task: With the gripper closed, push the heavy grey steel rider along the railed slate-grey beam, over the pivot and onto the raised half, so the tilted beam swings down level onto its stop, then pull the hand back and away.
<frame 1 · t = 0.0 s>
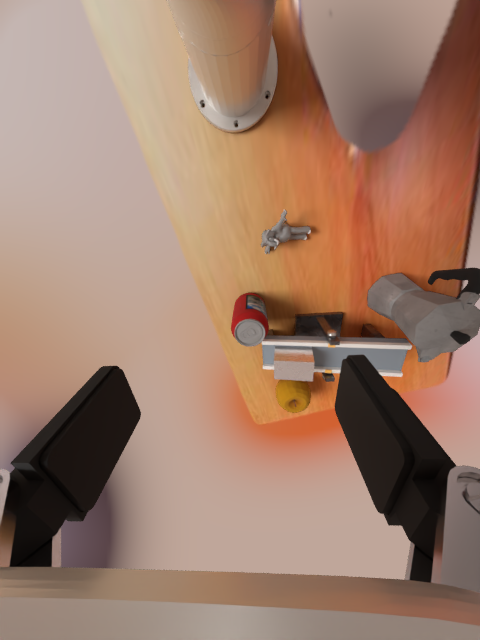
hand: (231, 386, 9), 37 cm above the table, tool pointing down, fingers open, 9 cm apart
beam: (328, 355, 42), point 9 cm above the table, hinge at 8.5°, touching rider
coffeepot: (390, 288, 45), on the table
apple: (289, 378, 57), on the table
rider: (292, 354, 43), point 8 cm above the table, tilted 9°, touching beam
beverage can: (249, 305, 48), on the table
elephant figurine: (281, 229, 40), on the table
stand: (316, 332, 50), on the table
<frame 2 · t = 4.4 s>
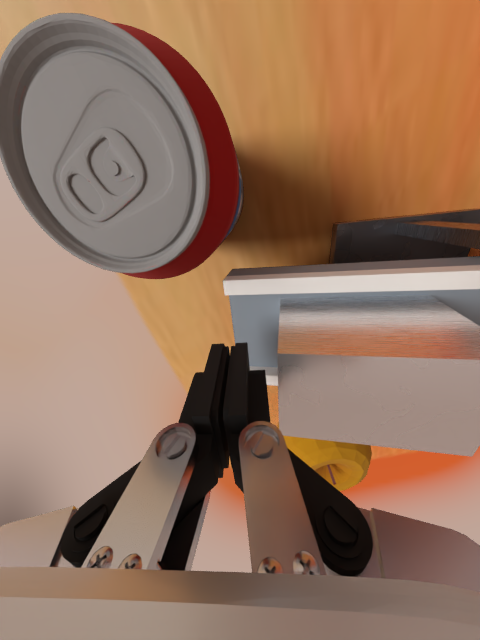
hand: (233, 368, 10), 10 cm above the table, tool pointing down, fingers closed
apple: (307, 397, 26), on the table
rider: (344, 333, 12), point 8 cm above the table, tilted 8°, touching beam
beverage can: (200, 196, 16), on the table
stand: (386, 280, 18), on the table
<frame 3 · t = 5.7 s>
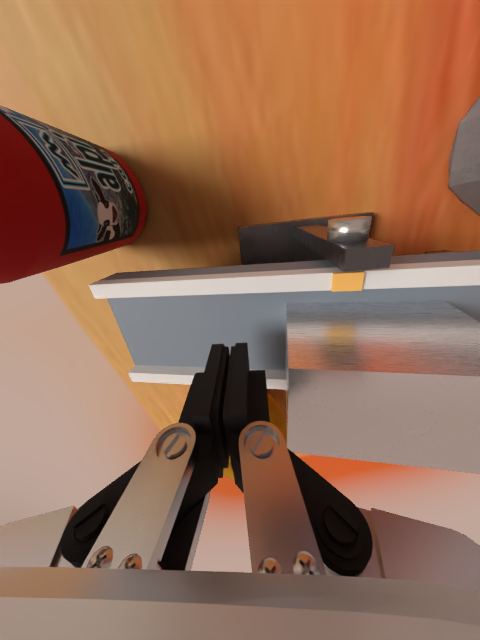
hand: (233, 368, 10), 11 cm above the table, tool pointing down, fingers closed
beam: (334, 330, 12), point 9 cm above the table, hinge at 7.7°, touching rider
apple: (246, 393, 26), on the table
rider: (352, 340, 11), point 9 cm above the table, tilted 8°, touching beam, gripper
beverage can: (109, 201, 17), on the table
stand: (299, 280, 19), on the table
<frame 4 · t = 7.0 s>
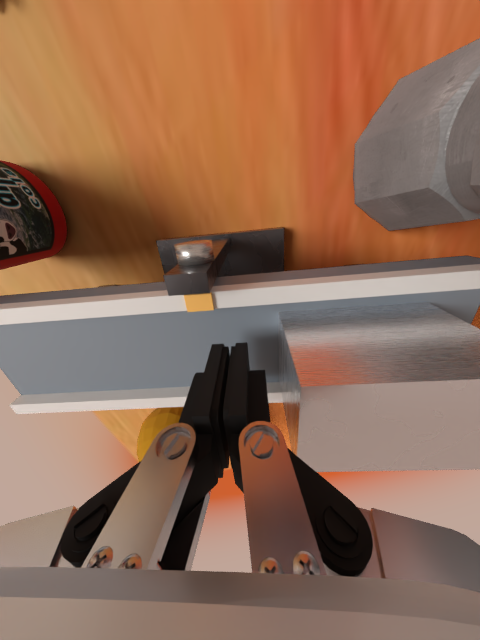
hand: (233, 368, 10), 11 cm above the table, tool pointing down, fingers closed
beam: (213, 345, 12), point 9 cm above the table, hinge at -0.5°, touching rider
coffeepot: (424, 139, 14), on the table
apple: (193, 400, 27), on the table
rider: (345, 344, 11), point 9 cm above the table, touching beam, gripper
beverage can: (33, 213, 17), on the table
stand: (227, 291, 20), on the table
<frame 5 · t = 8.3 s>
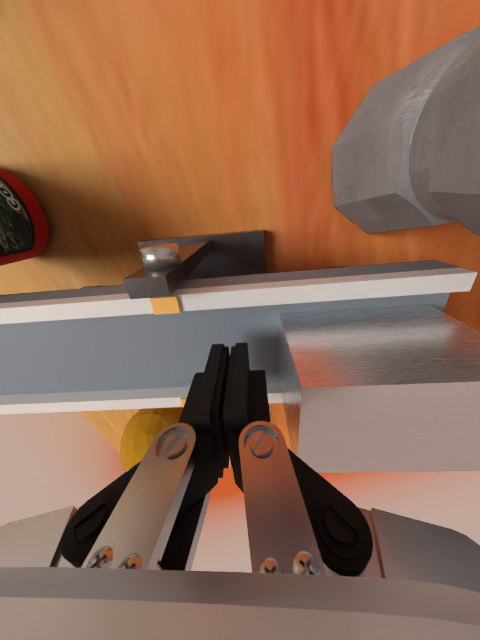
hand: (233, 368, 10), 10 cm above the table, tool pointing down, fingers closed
beam: (186, 347, 12), point 9 cm above the table, hinge at -0.6°, touching rider
coffeepot: (401, 143, 14), on the table
apple: (181, 400, 27), on the table
rider: (345, 346, 11), point 9 cm above the table, touching beam
beverage can: (15, 214, 17), on the table
stand: (210, 292, 20), on the table
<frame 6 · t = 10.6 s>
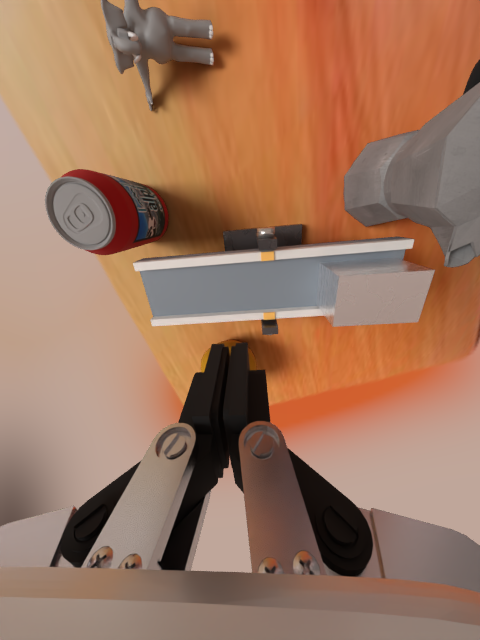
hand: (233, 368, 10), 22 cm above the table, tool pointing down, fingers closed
beam: (267, 284, 22), point 9 cm above the table, hinge at -0.6°, touching rider
coffeepot: (384, 173, 25), on the table
apple: (231, 349, 37), on the table
rider: (353, 282, 22), point 9 cm above the table, touching beam
beverage can: (145, 214, 28), on the table
elephant figurine: (168, 51, 21), on the table
stand: (263, 265, 30), on the table
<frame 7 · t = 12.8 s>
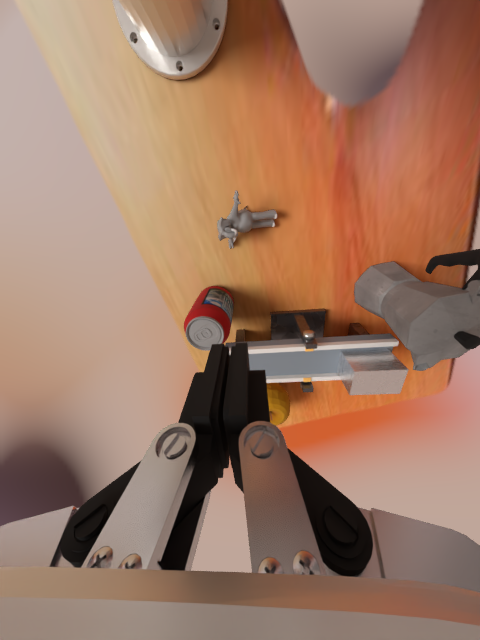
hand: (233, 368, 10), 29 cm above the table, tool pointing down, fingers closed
beam: (306, 360, 35), point 9 cm above the table, hinge at -0.6°, touching rider
coffeepot: (381, 281, 37), on the table
apple: (267, 385, 50), on the table
rider: (360, 360, 34), point 9 cm above the table, touching beam
beverage can: (216, 301, 41), on the table
elephant figurine: (244, 217, 34), on the table
stand: (296, 333, 43), on the table
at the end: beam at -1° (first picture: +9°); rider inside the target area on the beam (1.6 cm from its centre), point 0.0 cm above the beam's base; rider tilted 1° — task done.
